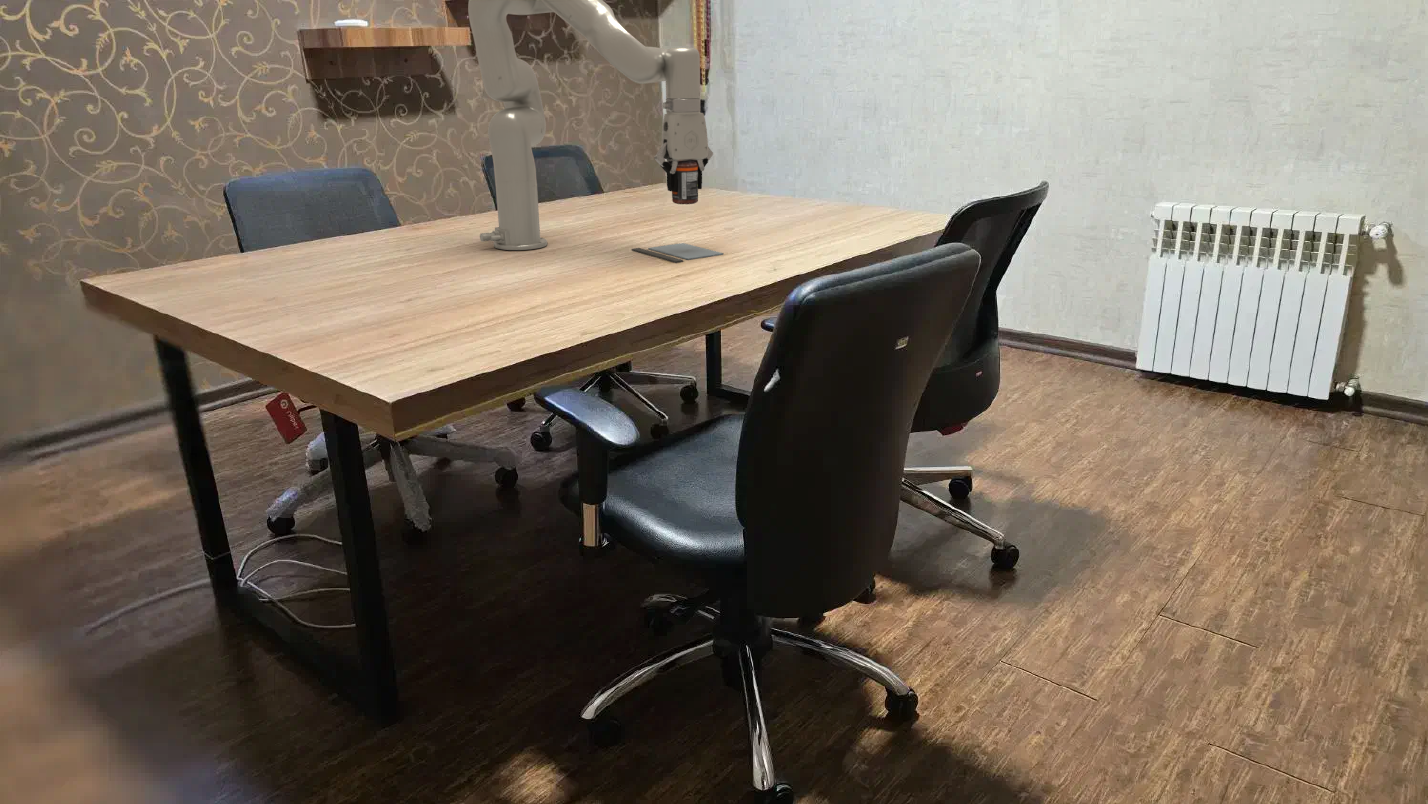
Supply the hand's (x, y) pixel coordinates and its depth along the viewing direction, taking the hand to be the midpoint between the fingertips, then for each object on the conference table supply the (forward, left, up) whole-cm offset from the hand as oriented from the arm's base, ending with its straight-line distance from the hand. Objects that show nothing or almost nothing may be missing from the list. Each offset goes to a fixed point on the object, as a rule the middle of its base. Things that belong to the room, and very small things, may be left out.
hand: (684, 189), depth 219 cm
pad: (0, 0, -14) cm, 14 cm away
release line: (-8, 0, -14) cm, 16 cm away
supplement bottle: (0, 0, -3) cm, 3 cm away
